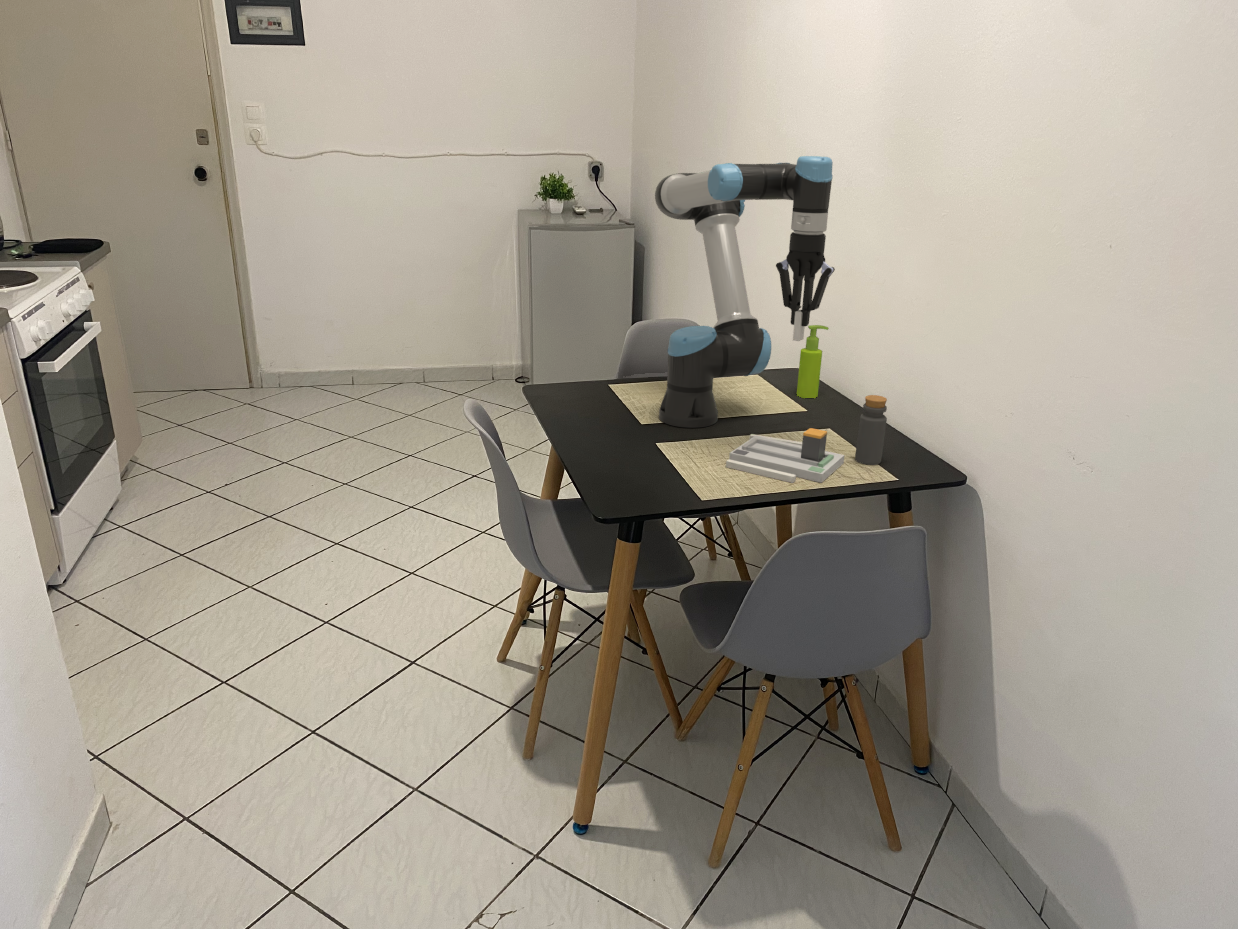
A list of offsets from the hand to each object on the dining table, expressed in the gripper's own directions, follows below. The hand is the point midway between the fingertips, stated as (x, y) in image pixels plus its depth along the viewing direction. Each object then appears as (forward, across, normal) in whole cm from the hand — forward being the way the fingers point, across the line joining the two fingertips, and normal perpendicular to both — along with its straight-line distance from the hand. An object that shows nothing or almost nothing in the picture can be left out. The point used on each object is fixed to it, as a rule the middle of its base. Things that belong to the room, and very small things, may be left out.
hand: (798, 339), depth 199 cm
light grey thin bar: (+26, -3, +2) cm, 27 cm away
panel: (+26, +3, -8) cm, 28 cm away
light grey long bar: (+26, +1, -18) cm, 32 cm away
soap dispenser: (+27, -12, +44) cm, 53 cm away
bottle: (+27, +18, +4) cm, 32 cm away
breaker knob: (+24, +9, -8) cm, 27 cm away
